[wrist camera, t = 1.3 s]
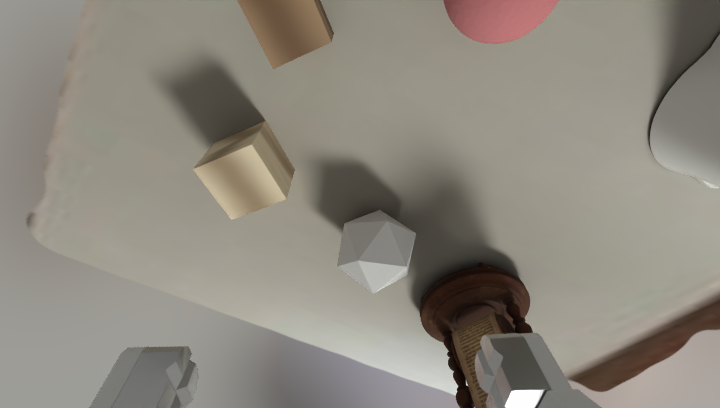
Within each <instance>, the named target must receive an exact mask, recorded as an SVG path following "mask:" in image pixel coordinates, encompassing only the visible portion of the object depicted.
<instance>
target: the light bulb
mask: <svg viewBox="0 0 720 408" xmlns="http://www.w3.org/2000/svg"><path fill="white" fill-rule="evenodd" d="M558 1H559V0H444V4H445V8H446V10H447V13H448V16H449V17H450V19H451V21H452V22H453V24H454V25H455V27H456V28H457V29H458V30H459V31H460V32H461V33H462V34H464V35H465V36H467V37H469V38H470V39H472V40H475V41H478V42H482V43H488V44H498V43H505V42H509V41H512V40H515V39H517V38H520V37H522V36H524V35H525V34H527V33H529V32H530V31H532V30H533V29H534V28H536V27H537V26H538V25H539V24H540V23H542V22H543V21H544V19H545V18H546V17H547V16H548V15H549V14H550V13H551V11H552V10H553V9H554V7H555V5H556V4H557V2H558Z"/></svg>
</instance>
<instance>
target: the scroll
mask: <svg viewBox="0 0 720 408" xmlns="http://www.w3.org/2000/svg"><path fill="white" fill-rule="evenodd" d="M529 307H530V297H529V293H528V291H527V289H526V288H525V286H524V284H523V283H522V281H521V280H520V279H519V278H518V277H516V276H515V275H513V274H512V273H510V272H508V271H505V270H502V269H497V268H489V267H488V266H487V265H486V264H484V263H480V266H479V268H471V269H466V270H462V271H459V272H456V273H453V274H451V275H449V276H447V277H445V278H443V279H442V280H440V281H439V282H437V283H436V284H435V285H434V286H432V287H431V288H430V289H429V290H428V292H427V293H426V294H425V296H423V297H422V299H421V305H420V317H421V322H422V325H423V327H424V329H425V330H426V332H427V333H428V334H429V335H430V336H432V337H433V338H435V339H437V340H439V341H441V342H444V345H445V346H446V348H447V349H448V351H449V352H448V353H447V355H448V357H450V358H449V360H448V365H449V367H450V369H451V370H453V371H454V373H453V378H454V380H455V381H456V383H457V385H458V386H459V387H458V388H457V391H458V392H457V393H456V400H457V403H458V405H459V406H460V408H474V407H475V408H487V405H486V401H487V397H488V394H487V393H486V392H485V391H484V390H483V389H482V388H481V387H480V385H479V382H478V379H477V376H476V371H475V358H476V354H477V352H478V351H479V350H481V349H482V347H481V344H480V341H481V338H482V337H483V336H484V335H491V334H509V333H518V334H521V333H533V331H532V328H531V326H530V325H528V324H527V323H525V316H526V315H527V313H528V310H529ZM466 381H467V384H468V386H466Z"/></svg>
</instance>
